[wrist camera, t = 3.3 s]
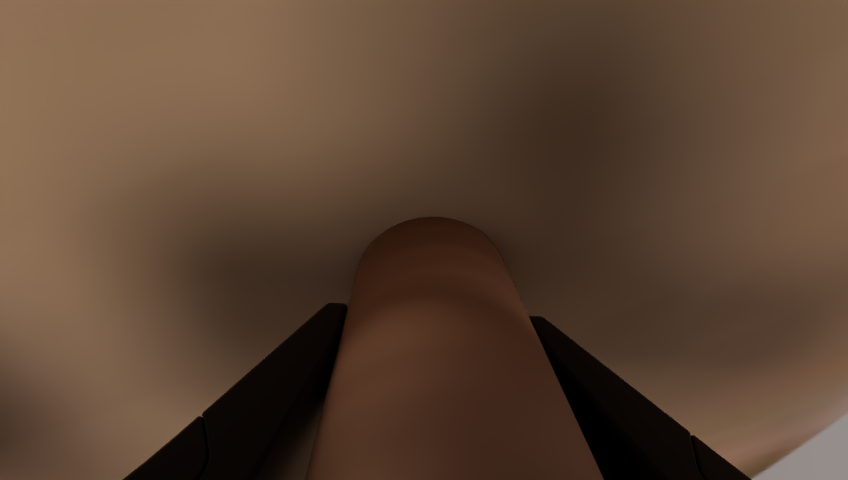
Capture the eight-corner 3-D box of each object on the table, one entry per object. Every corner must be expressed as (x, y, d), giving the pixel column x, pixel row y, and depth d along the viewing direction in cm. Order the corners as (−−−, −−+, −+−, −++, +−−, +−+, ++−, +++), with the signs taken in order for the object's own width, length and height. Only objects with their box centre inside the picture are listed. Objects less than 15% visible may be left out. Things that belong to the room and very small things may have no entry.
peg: (354, 338, 10) (267, 777, 4) (357, 210, 8) (205, 650, 2) (489, 345, 10) (605, 763, 4) (520, 224, 9) (802, 642, 2)
